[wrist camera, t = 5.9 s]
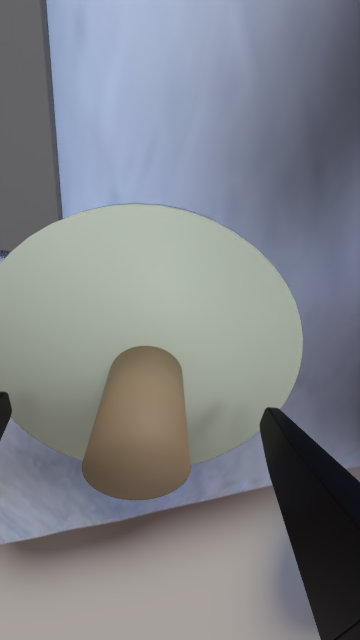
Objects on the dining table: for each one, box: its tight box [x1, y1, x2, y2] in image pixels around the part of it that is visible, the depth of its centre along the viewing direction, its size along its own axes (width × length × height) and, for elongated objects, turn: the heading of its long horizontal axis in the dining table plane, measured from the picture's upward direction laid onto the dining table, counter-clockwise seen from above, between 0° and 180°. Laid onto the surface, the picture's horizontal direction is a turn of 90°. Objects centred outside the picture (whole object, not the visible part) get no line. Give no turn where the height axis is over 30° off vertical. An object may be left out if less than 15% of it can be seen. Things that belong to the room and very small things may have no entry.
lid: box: [0, 203, 303, 500], centre depth 9 cm, size 13×13×5 cm
